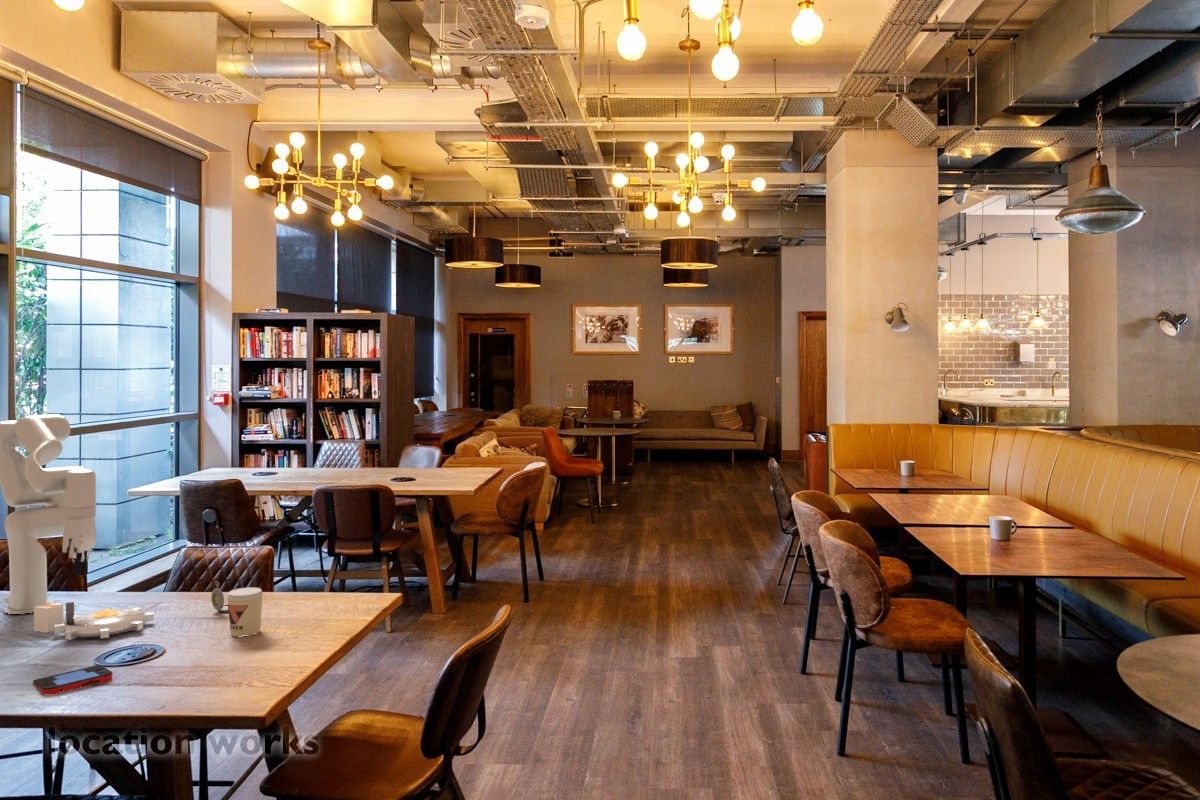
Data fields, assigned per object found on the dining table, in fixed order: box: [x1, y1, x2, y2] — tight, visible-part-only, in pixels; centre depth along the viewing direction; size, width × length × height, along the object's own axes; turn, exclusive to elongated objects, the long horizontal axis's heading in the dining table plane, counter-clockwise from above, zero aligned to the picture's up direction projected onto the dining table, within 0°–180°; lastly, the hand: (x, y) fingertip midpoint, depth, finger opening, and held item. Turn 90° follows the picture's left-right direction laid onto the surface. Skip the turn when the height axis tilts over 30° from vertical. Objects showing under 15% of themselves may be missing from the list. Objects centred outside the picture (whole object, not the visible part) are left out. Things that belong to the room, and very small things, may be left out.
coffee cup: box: [226, 586, 264, 636], centre depth 232 cm, size 9×9×12 cm
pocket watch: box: [210, 580, 229, 612], centre depth 254 cm, size 8×8×10 cm
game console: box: [32, 664, 113, 695], centre depth 195 cm, size 14×13×2 cm
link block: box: [33, 602, 65, 633], centre depth 235 cm, size 5×5×7 cm
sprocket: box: [53, 601, 155, 641], centre depth 235 cm, size 24×24×8 cm
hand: (80, 574), depth 238 cm, fingers closed
